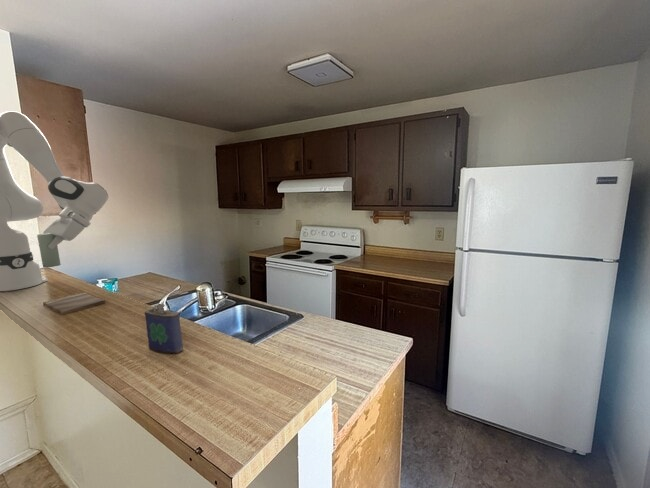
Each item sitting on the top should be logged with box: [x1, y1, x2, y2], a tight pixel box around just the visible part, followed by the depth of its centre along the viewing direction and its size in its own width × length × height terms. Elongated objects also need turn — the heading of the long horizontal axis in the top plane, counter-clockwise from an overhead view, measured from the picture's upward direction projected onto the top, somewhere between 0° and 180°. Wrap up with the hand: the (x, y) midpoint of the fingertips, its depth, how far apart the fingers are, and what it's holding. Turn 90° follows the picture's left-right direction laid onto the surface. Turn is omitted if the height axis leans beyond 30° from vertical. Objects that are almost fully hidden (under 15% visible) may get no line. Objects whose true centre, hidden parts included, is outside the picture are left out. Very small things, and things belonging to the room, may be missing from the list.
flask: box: [144, 303, 184, 355], centre depth 73 cm, size 10×3×12 cm, turn 69°
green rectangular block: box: [36, 233, 62, 268], centre depth 115 cm, size 5×5×12 cm
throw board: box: [42, 292, 106, 315], centre depth 109 cm, size 18×12×1 cm, turn 57°
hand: (46, 247), depth 114 cm, fingers closed on green rectangular block, 5 cm apart
